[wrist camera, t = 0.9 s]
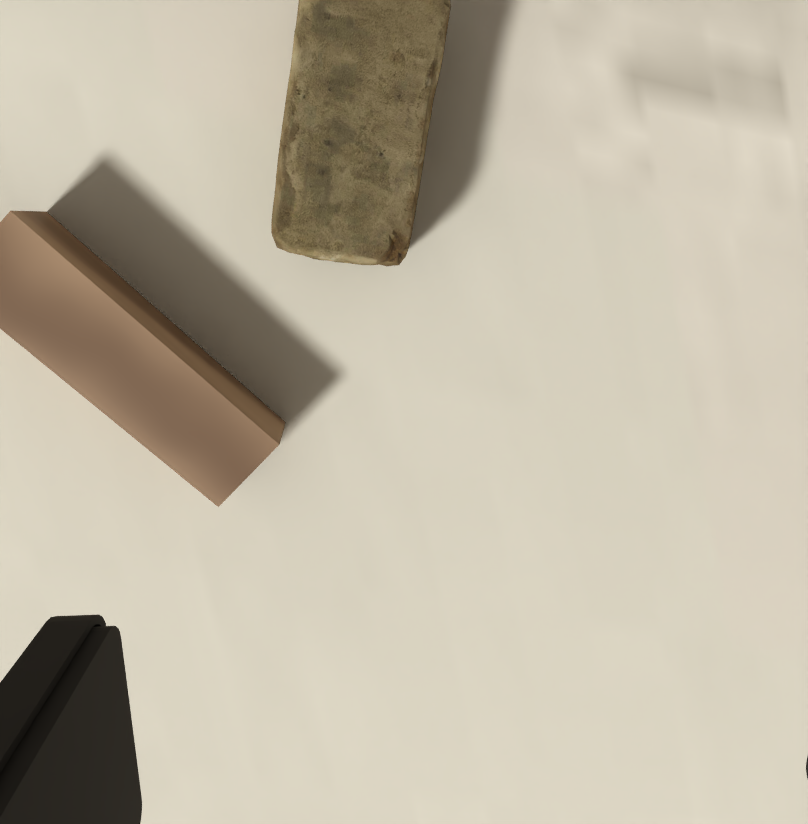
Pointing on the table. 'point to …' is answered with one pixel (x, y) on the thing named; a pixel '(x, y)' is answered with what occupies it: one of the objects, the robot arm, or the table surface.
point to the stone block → (357, 127)
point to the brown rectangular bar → (129, 357)
